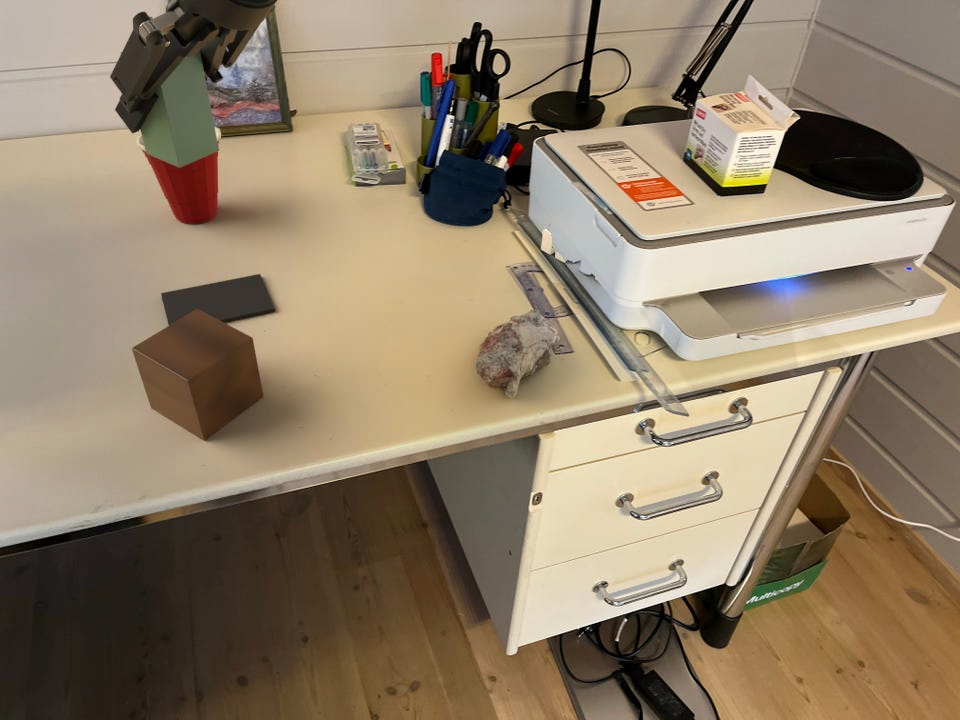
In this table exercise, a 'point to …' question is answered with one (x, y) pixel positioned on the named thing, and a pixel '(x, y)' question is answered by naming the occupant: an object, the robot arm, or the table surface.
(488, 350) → the mineral rock
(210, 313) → the mat
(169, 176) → the plastic cup
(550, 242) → the modular blocks
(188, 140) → the top block
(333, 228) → the table surface
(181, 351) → the base block
